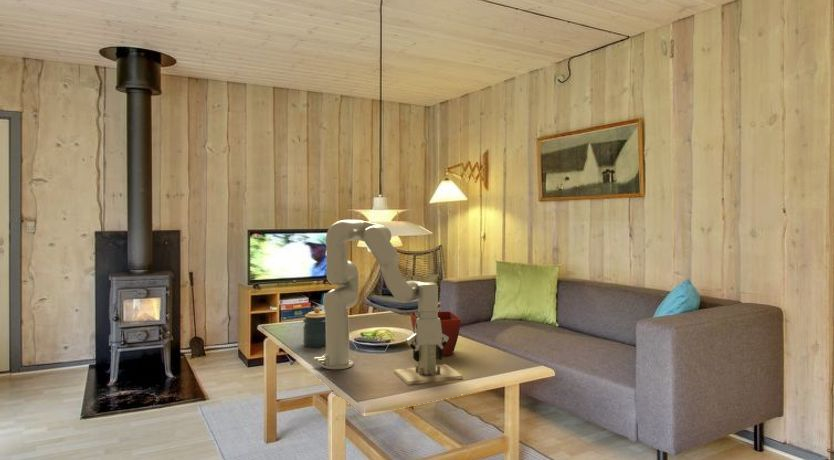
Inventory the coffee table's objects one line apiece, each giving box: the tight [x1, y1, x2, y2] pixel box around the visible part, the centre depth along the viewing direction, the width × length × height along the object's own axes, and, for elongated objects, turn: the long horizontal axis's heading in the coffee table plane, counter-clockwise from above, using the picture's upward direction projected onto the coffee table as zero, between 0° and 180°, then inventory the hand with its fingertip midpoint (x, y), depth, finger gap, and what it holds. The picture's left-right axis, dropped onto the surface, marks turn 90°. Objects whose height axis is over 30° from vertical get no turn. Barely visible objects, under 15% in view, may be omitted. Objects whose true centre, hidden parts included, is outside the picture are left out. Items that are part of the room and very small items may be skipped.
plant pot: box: [410, 310, 462, 357], centre depth 239 cm, size 19×19×17 cm
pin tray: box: [394, 363, 464, 386], centre depth 206 cm, size 22×16×4 cm
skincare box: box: [417, 343, 437, 375], centre depth 206 cm, size 6×4×12 cm
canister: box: [302, 307, 326, 349], centre depth 254 cm, size 13×13×18 cm
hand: (427, 359), depth 206 cm, fingers open, 8 cm apart
